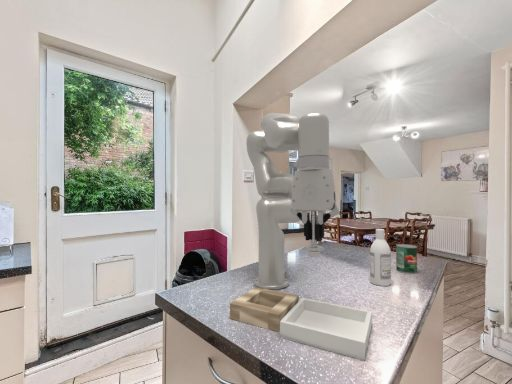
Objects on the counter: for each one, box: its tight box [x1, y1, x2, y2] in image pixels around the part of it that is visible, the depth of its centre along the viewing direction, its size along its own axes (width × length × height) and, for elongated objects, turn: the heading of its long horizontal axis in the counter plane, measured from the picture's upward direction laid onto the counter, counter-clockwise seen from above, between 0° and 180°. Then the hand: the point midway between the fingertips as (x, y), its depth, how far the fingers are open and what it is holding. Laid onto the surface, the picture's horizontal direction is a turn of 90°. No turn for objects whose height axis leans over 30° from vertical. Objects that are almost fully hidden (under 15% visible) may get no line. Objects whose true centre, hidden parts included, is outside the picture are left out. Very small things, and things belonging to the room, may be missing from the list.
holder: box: [229, 286, 300, 333], centre depth 71 cm, size 14×14×4 cm
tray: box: [279, 297, 373, 362], centre depth 62 cm, size 16×18×4 cm
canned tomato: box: [395, 243, 418, 275], centre depth 113 cm, size 8×8×11 cm
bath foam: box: [369, 228, 392, 287], centre depth 97 cm, size 7×7×20 cm
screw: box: [303, 211, 325, 258], centre depth 64 cm, size 13×5×5 cm
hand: (314, 239), depth 64 cm, fingers closed on screw, 2 cm apart
